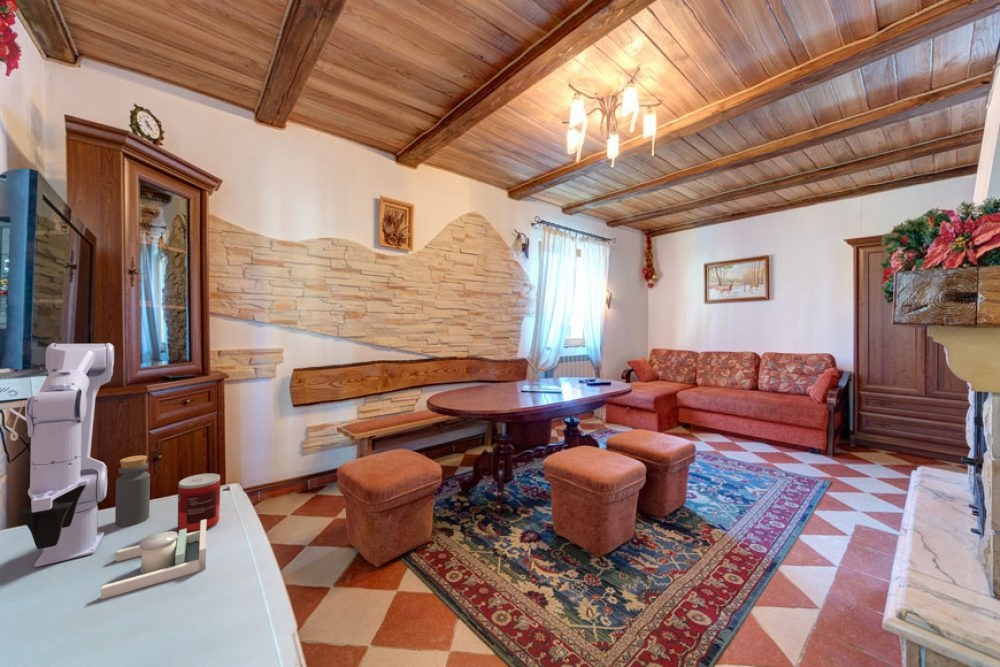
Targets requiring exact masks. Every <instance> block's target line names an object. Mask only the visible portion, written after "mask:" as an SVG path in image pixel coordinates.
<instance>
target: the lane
mask: <svg viewBox="0 0 1000 667" xmlns="http://www.w3.org/2000/svg"><path fill="white" fill-rule="evenodd" d="M195 541H197V542H199V548H198V549H199V550H198V551H199V552H198V555H199V556H198V559H195V560H192V561H188V562H187V561H186V562H184V563H183V564H179V565H176V566H175V565H171V566H170V567H168V568H165V569H161V570H158V571H154V572H150V573H143V574H140V575H136V576H133V577H128V578H125V579H122V580H118V581H115V582H112V583H107V584H105V585H102V586H101V587H100V600H104V599H107V598H110V597H114V596H117V595H122V594H124V593H128V592H133V591H135V590H139V589H141V588H145V587H149V586H152V585H155V584H160V583H163V582H165V581H168V580H173V579H176V578H179V577H183V576H186V575H191V574H193V573H192V572H194V573H196V571H197V572H200V570H201V571H204V570H206V569H207V568H206V567H207V566H206V565H207V564H206V563H207V562H206V561H207V560H206V559H207V530H206V519H205V520H201V525H200V531H196V532H192V533H188V534H187V538H186V545H188V544H187V543H189V544H192V543H191V542H193V543H195ZM177 542H178V535H177V539H176V548H177ZM141 550H142V549H141V548H140V544H138V545H135V546H130V547H126V548H121V549H118V550H116V553H115V554H116V555H115V562H118V563H119V562H121V561H124V560H129V559H133V558H137V557H141Z"/></svg>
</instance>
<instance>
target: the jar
mask: <svg viewBox="0 0 1000 667" xmlns="http://www.w3.org/2000/svg"><path fill="white" fill-rule="evenodd" d="M177 536H178V532H176V531H169V530H168V531H162V532H158V533H155V534H153V535H150V536H147V537H145V538H144V539H143V540H141V541H140V542H139V545H140V548H141V549H142V550H141V556H140V557H141V558H140V560H141V561H140V572H141V571H142V572H143V574H147V573H150V572H154V571H158V570H161V569H165V568H169V567H172V566H174V564H175V555H176V549H177V547H176V539H177ZM142 572H141V573H142Z"/></svg>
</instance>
